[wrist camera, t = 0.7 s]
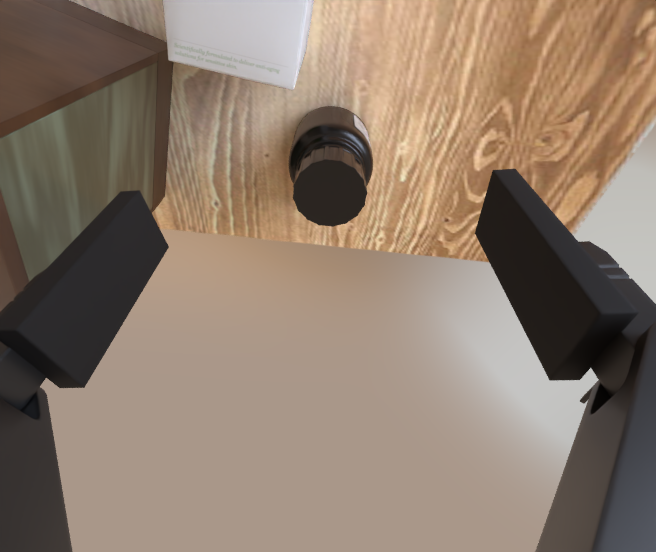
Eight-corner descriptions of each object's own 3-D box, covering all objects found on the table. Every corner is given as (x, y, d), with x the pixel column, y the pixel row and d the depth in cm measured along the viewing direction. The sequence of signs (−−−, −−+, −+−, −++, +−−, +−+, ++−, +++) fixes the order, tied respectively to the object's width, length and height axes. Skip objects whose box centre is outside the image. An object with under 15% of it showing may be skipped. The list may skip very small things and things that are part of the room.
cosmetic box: (223, 31, 32) (159, 64, 20) (224, -65, 27) (143, -92, 16) (309, 54, 33) (293, 97, 21) (323, -35, 29) (313, -40, 17)
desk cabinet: (57, 161, 41) (-172, 316, 23) (26, -18, 30) (-490, -3, 11) (164, 196, 44) (39, 358, 26) (174, 45, 33) (-39, 140, 14)
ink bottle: (357, 188, 43) (362, 245, 34) (289, 175, 42) (276, 230, 33) (379, 109, 36) (393, 153, 27) (300, 92, 35) (287, 131, 26)
